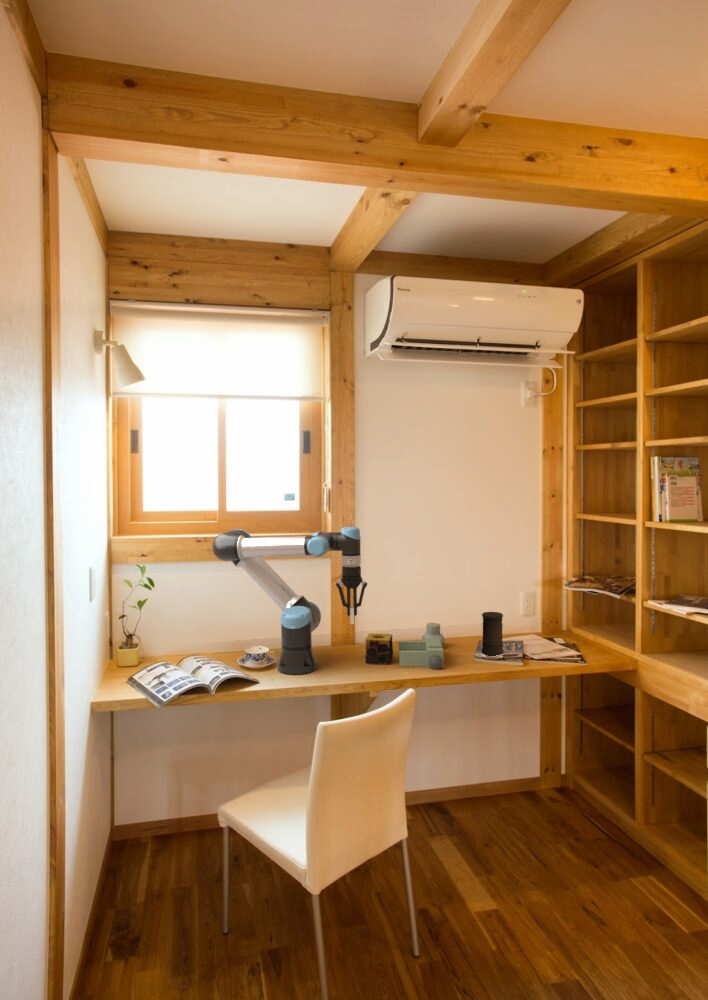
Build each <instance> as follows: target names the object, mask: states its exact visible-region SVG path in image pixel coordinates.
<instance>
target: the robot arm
mask: <svg viewBox="0 0 708 1000" xmlns="http://www.w3.org/2000/svg"><path fill="white" fill-rule="evenodd" d="M339 551H341V565H342V567H341V569H342V570H341V574H342V575H341V579H340V581H337V582H336V583H335V586H336V588H337V589H338V592H339V595H340V596H339V597H340V599H341V604H342V606H343V607H345V608H346V609H347V612H346V613H347V616H349V624H350V625H355V616H357V615H358V608H359V607H361V606H362V602H363V599H364V598H363V597H364V594H365V589H366V588H367V586H368V582H367V581H364V580H363V577H362V566H361V564H362V561H361V559H362V558H361V531H360V528H359V527H356V526H343V527H342V528H341V530H340V532H339V531H338V532H333V531H332V532H331V531H329V532H327V531H318V532H314V533H312V535H307V536H305V535H303V536H302V535H301V536H298V535H297V536H272V537H271V536H270V537H266V536H265V537H253V536H251V534H250V533H249V532H248V531H246V530H244V529H240V528H239V529H238V528H235V529H234V528H233V529H230V530H228V531H224V532H221V533H219V534H218V535H217V536H216V537H215V538H214V539H213V542H212V552H213V554H214V556H215V557H216V558H217V559H219V560H220V561H224V562H231V563H233V564H234V566H235V567H237V568H242V569H243V570H244V571H245V572H246V573H247V574H248V575H249V576H250V578H251V579H252V580H254V582H256V583H257V585H258V586H259V587H260V588H261V589H262V590H263V591H264V592H265V593H266V595H268V597H269V598H271V600H272V602H274V603H275V604H276V606H278V607H279V608H280V609H281V616H280V623H281V624H280V625H281V627H280V628H281V652H280V655H279V658H278V660H277V671H278V672H279V671H280V672H279V673H281V672H282V674H284V673H288V674H287V675H293V674H297V675H303V674H302V673H306V674H310V673H312V672H315V671H316V670H317V660H316V657H315V655H314V651H313V648H312V647H313V646H312V641H313V640H312V637H313V636H312V633H313V632H314V631H315V630H316V629H317V628H318V627H319V625H320V623H321V620H322V612H321V609H320V608H319V606H318V605H317V604H316V603H314V602H312V601H309V600H307V598H306V597H305V596H304V595H303V594H302V595H299V594H297V593H296V592H295V591H294V590H293V589H292V588H291V586H289V585H288V584H287V582H285V580H284V579H282V577H281V576H280V575H279V574H278V573H277V572H276V571H275V570H274V569H273V568H272V567H271V566H270V565H269V564H268V562H266V560H265V559H264V558H263V557H296V556H297V557H298V556H300V557H301V556H308V557H309V556H313V557H316V558H317V557H322V556H324V555H326V554H327V553H328V552H339ZM360 584H361V585H360ZM343 586H344V587H345V588H346V598H345V594H344V591H343ZM359 586H361V591H360V593H359V598H358V597H357V596H358V595H357V594H358V593H357V591H358V589H357V588H359ZM351 589H353V590H352V592H353V593H352V596H353V606H351ZM357 600H358V601H357ZM315 669H316V670H315ZM309 672H310V673H309Z"/></svg>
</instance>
